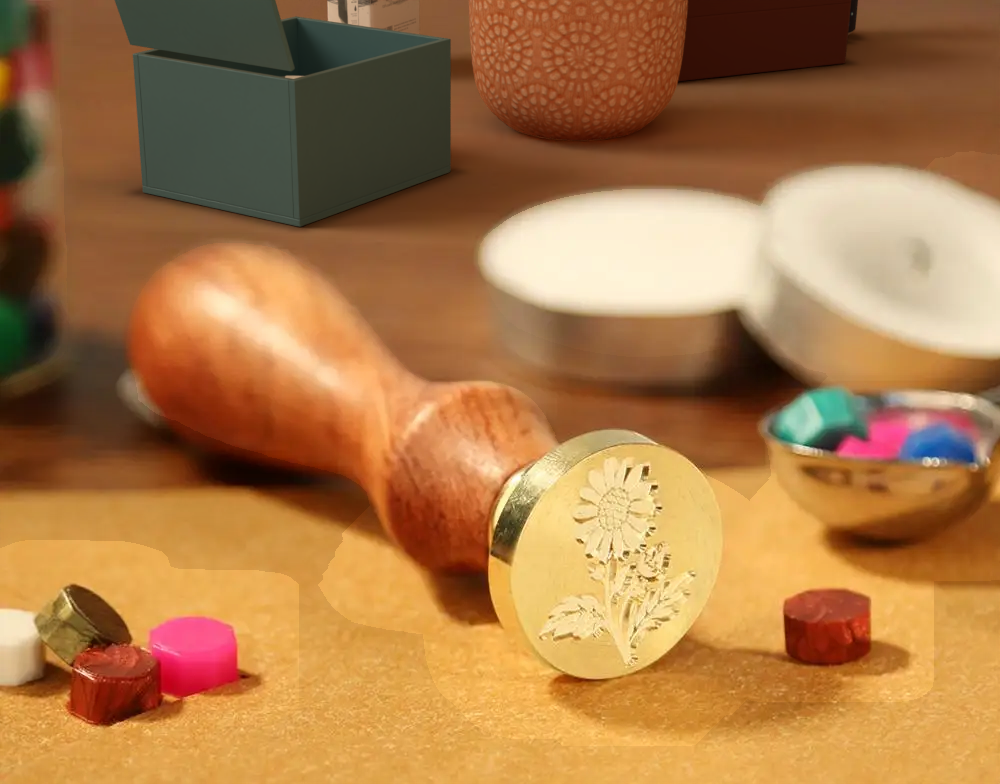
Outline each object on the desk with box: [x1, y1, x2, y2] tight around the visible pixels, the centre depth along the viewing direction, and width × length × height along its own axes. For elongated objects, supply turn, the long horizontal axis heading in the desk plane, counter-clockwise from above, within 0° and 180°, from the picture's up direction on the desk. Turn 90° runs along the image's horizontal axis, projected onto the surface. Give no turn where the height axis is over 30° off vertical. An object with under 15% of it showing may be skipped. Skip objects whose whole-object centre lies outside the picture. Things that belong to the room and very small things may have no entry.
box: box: [678, 0, 851, 82], centre depth 168 cm, size 21×16×10 cm
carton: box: [132, 15, 452, 228], centre depth 127 cm, size 17×14×10 cm
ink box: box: [327, 0, 421, 34], centre depth 161 cm, size 9×5×12 cm, turn 153°
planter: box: [468, 0, 688, 142], centre depth 141 cm, size 17×17×15 cm
